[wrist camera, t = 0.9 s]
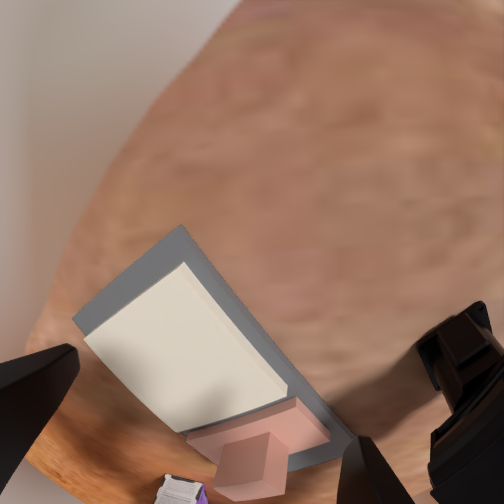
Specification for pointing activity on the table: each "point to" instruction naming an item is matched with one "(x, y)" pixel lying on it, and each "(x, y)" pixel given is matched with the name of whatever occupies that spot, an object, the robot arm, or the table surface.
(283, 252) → the table surface
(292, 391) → the mat
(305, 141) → the table surface
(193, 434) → the stub
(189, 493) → the candy box
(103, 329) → the spiral notepad
